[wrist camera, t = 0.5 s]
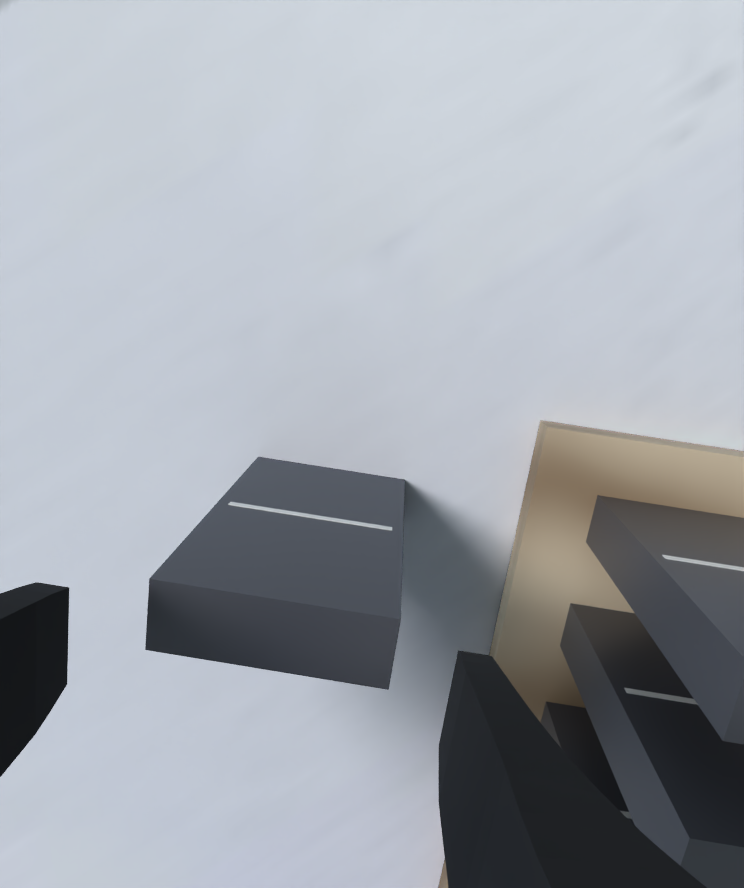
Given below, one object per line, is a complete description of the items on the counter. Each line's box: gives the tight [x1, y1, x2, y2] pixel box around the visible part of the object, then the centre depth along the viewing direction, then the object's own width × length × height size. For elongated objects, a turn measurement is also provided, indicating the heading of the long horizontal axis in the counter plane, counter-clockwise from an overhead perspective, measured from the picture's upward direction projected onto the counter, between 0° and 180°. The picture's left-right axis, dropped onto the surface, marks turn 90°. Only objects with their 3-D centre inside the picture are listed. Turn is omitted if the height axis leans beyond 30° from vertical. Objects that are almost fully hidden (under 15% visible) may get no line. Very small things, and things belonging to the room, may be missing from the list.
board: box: [438, 420, 744, 888], centre depth 22 cm, size 21×9×1 cm, turn 172°
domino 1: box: [145, 457, 405, 689], centre depth 17 cm, size 2×5×9 cm, turn 82°
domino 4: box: [560, 603, 744, 888], centre depth 16 cm, size 2×5×9 cm, turn 82°
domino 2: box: [541, 702, 634, 825], centre depth 17 cm, size 2×5×9 cm, turn 82°
